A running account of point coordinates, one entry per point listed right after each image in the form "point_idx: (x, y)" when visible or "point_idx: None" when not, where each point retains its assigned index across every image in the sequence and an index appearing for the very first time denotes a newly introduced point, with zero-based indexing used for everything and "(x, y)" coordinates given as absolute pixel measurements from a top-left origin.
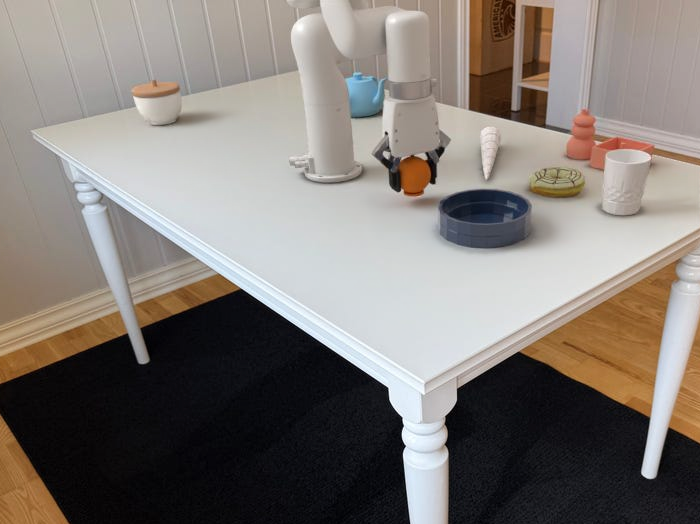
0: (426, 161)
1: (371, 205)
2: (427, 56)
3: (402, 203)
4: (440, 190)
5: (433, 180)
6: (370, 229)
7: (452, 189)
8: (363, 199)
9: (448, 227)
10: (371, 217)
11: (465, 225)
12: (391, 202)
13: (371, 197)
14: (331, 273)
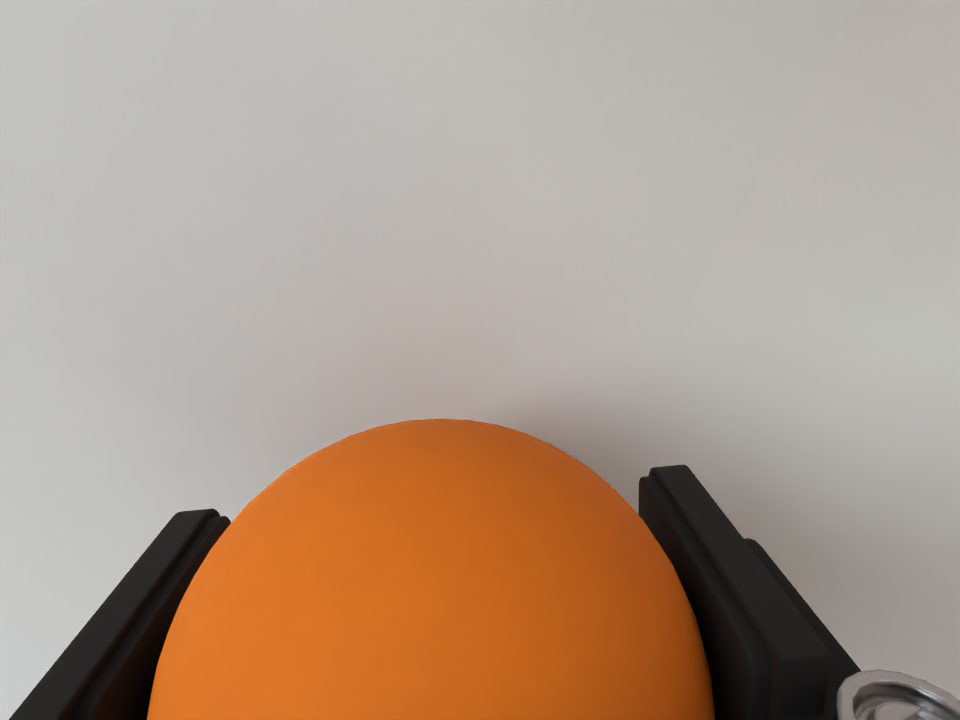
0: (770, 693)
1: (76, 312)
2: None
3: (365, 388)
4: (806, 253)
5: None
6: (18, 700)
7: (908, 281)
8: (6, 120)
9: None
10: (47, 539)
11: None
12: (277, 325)
13: (102, 104)
14: None
